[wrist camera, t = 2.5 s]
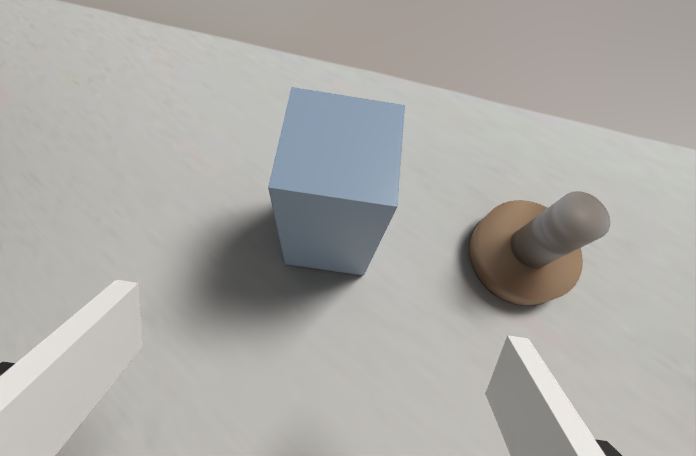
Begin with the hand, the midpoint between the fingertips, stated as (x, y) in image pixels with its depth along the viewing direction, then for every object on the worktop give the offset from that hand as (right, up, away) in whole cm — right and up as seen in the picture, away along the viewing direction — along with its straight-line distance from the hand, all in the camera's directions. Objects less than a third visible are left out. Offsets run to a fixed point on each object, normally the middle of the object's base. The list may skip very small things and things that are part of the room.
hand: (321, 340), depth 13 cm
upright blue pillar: (0, +4, +16) cm, 16 cm away
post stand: (+15, +2, +17) cm, 22 cm away
